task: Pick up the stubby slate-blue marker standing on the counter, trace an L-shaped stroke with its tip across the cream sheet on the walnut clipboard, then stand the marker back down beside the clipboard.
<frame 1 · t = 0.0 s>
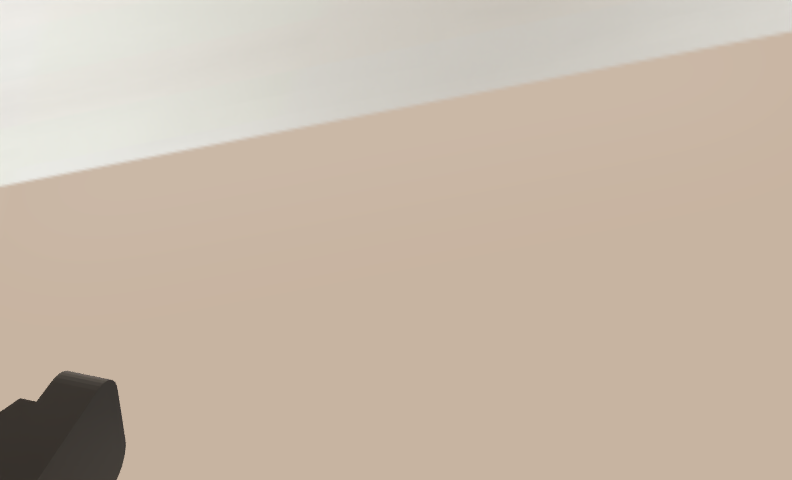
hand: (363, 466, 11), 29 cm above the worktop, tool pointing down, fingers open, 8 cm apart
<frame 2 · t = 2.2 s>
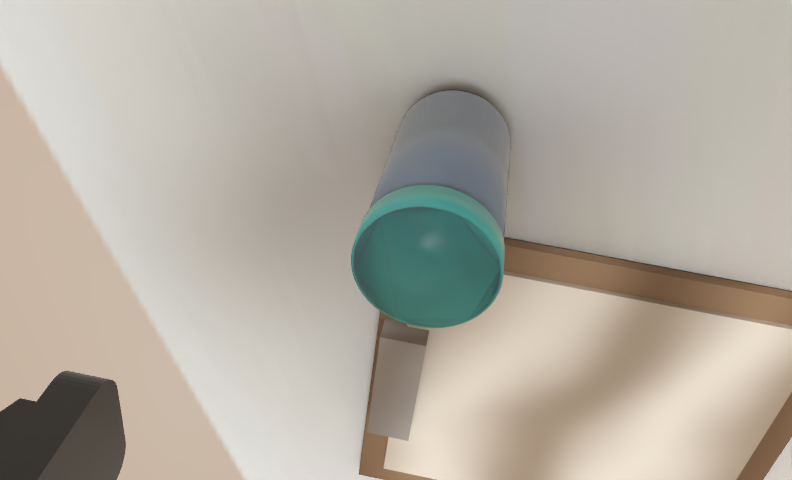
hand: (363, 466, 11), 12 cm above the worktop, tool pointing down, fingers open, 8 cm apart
clipboard: (573, 399, 27), on the worktop
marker: (457, 128, 21), on the worktop
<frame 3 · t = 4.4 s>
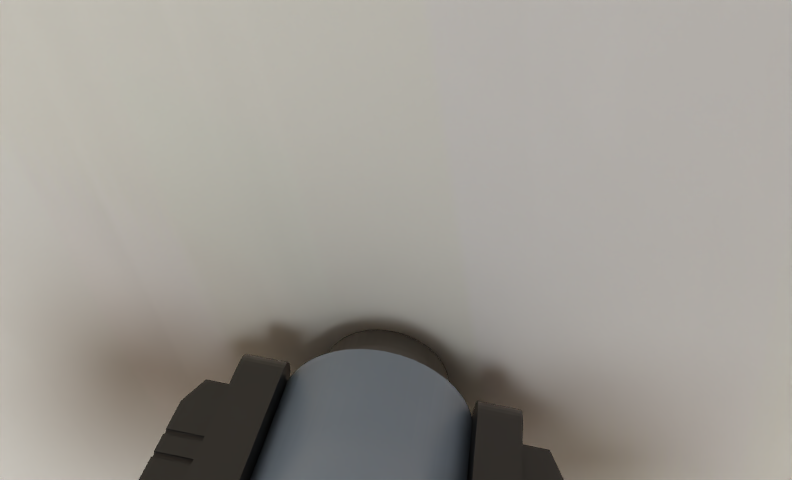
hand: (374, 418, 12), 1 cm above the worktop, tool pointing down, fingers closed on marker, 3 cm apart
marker: (385, 377, 13), on the worktop, touching gripper
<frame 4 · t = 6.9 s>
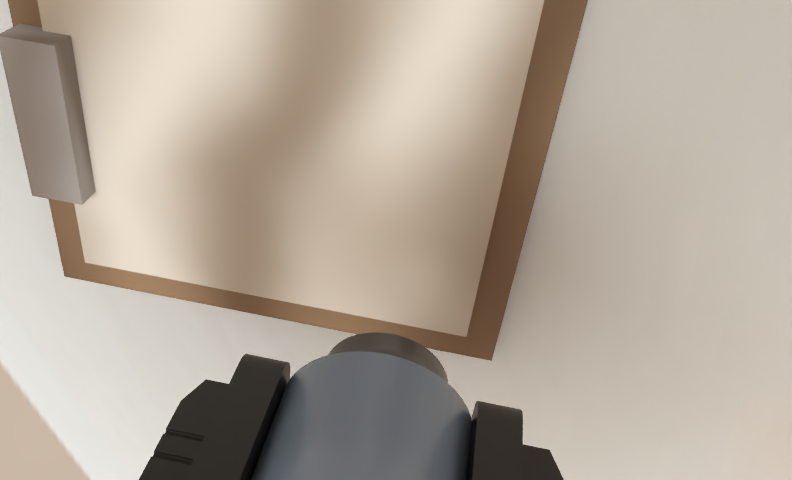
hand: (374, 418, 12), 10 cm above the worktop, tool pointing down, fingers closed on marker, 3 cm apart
clipboard: (280, 143, 21), on the worktop
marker: (385, 379, 13), point 9 cm above the worktop, touching gripper
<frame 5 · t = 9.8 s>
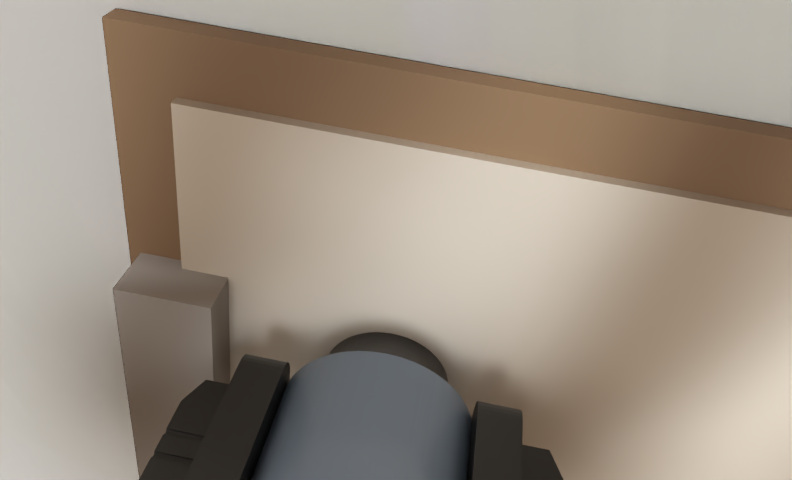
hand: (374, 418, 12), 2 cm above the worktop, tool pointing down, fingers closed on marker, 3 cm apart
clipboard: (534, 419, 14), on the worktop
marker: (385, 379, 13), point 1 cm above the worktop, touching clipboard, gripper
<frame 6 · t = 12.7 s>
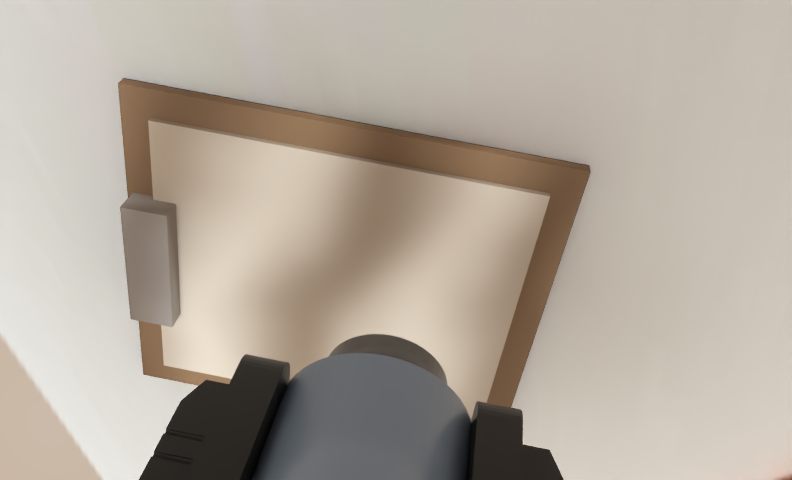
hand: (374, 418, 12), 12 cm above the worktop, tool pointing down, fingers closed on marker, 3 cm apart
clipboard: (335, 281, 26), on the worktop
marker: (385, 381, 13), point 12 cm above the worktop, touching gripper
when the fingers open (2 cm above the worktop, at t = 15.3 s): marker stays where it is, on the worktop.
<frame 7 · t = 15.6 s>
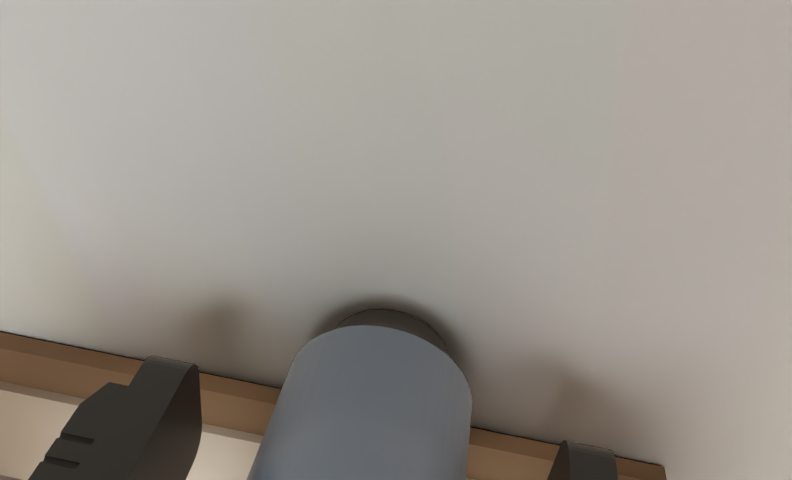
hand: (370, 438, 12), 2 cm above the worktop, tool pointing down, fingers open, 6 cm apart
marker: (388, 355, 13), on the worktop
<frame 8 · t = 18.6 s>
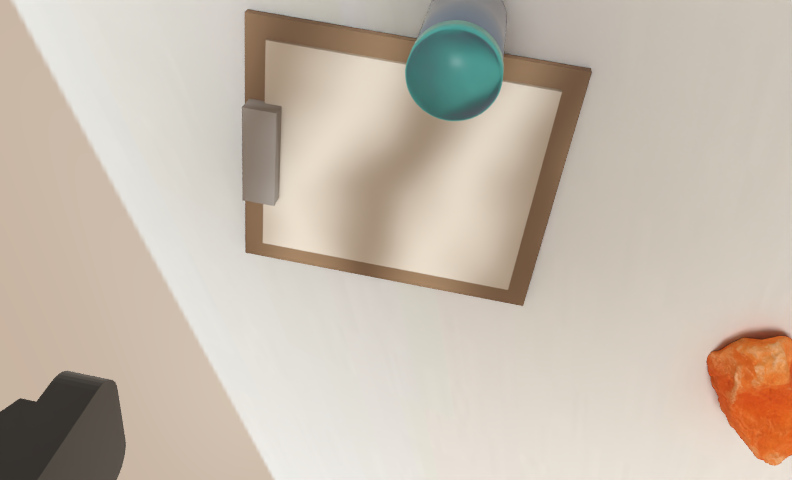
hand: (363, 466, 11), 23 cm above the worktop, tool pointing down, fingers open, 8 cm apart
clipboard: (398, 169, 35), on the worktop
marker: (468, 13, 30), on the worktop
rock: (761, 363, 39), on the worktop
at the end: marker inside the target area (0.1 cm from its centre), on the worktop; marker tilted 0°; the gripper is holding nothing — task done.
